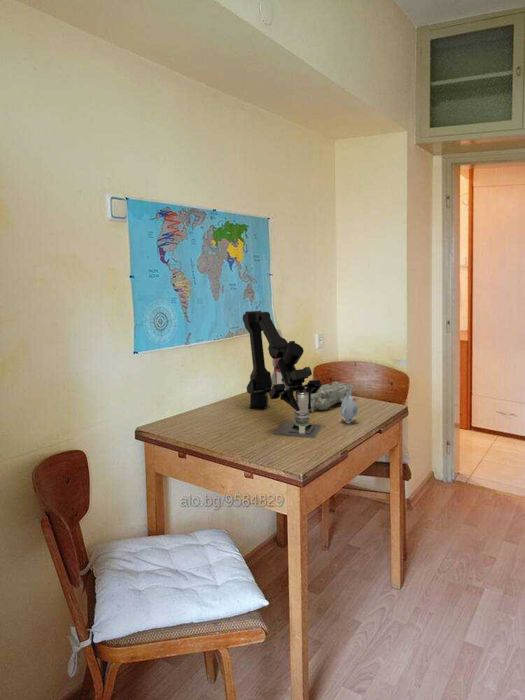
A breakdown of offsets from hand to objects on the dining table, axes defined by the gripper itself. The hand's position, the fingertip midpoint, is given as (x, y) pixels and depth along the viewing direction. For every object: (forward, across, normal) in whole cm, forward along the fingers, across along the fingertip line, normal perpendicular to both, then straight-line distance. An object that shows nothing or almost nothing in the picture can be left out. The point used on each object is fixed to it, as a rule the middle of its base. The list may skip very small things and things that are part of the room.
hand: (304, 409), depth 183 cm
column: (+4, 0, +6) cm, 7 cm away
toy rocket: (-29, +16, +41) cm, 53 cm away
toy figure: (+4, +21, +9) cm, 23 cm away
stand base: (+4, 0, +9) cm, 9 cm away
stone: (-12, +28, +25) cm, 39 cm away
